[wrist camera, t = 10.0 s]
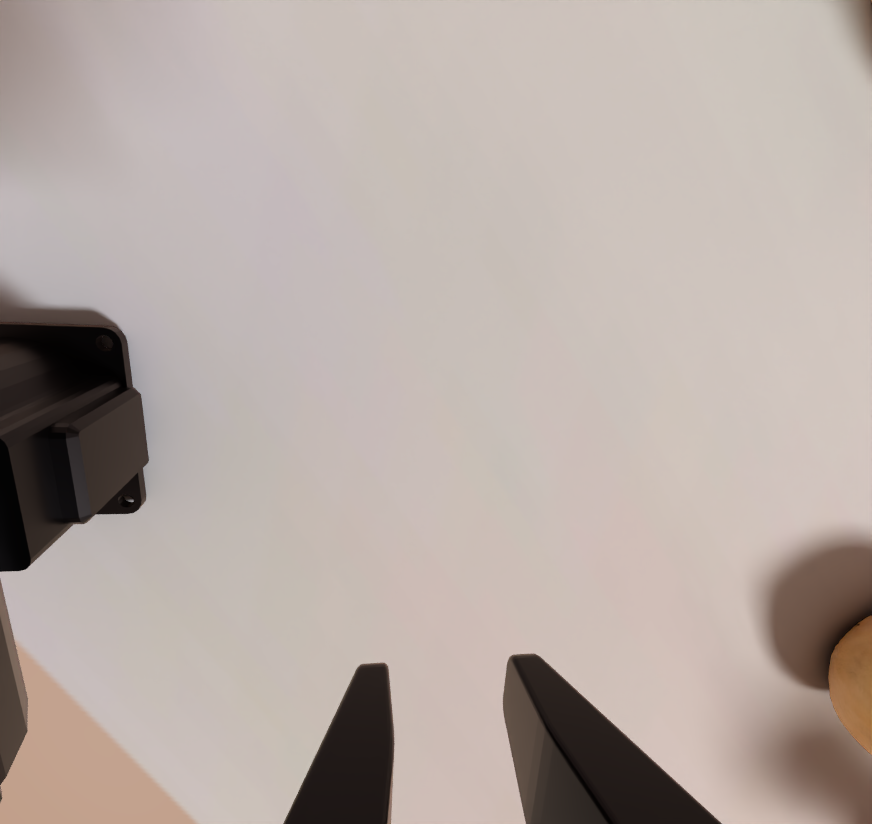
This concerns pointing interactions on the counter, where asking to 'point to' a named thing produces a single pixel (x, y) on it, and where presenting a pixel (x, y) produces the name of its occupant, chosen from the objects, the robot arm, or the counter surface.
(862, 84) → the counter surface
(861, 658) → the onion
